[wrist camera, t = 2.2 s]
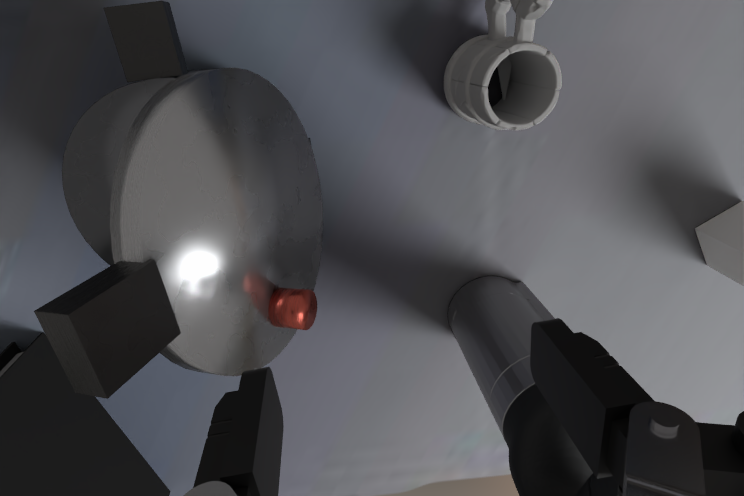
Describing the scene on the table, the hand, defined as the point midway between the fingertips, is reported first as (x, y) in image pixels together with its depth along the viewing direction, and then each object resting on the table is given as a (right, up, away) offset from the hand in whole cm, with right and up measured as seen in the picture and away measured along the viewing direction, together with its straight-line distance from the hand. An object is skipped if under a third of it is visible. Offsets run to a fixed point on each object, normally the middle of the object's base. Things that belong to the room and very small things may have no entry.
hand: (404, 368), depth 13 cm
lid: (-9, +4, +11) cm, 15 cm away
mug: (+9, +21, +29) cm, 37 cm away
